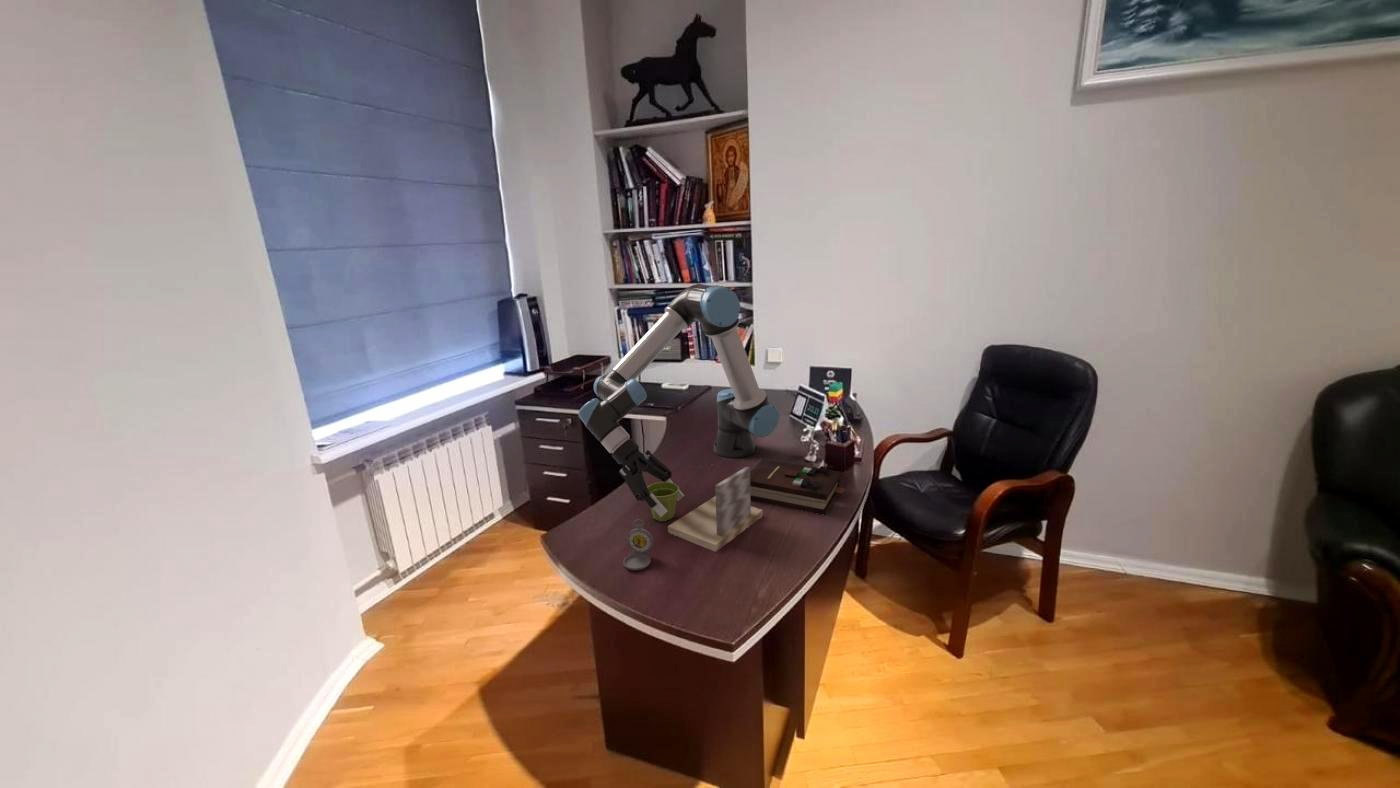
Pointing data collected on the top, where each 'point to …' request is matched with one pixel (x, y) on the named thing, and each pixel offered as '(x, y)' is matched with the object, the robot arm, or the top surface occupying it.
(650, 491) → the plant pot
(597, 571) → the top surface
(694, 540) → the shelf board
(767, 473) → the decorative book
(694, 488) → the top surface
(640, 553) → the pocket watch
